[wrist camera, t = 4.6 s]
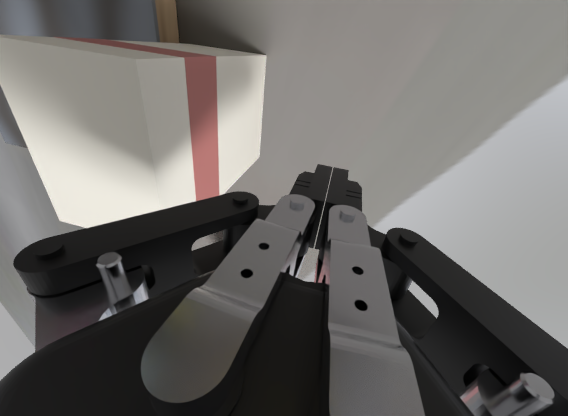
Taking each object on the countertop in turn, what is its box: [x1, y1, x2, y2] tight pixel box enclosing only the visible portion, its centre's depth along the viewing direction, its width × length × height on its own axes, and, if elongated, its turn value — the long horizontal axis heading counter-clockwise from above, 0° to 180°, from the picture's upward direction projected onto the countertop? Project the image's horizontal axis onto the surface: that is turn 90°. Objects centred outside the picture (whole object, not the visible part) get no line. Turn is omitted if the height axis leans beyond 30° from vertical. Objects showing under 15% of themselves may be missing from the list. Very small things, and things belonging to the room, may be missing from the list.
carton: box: [0, 35, 266, 228], centre depth 18 cm, size 7×9×15 cm
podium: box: [0, 0, 179, 148], centre depth 25 cm, size 22×16×3 cm
